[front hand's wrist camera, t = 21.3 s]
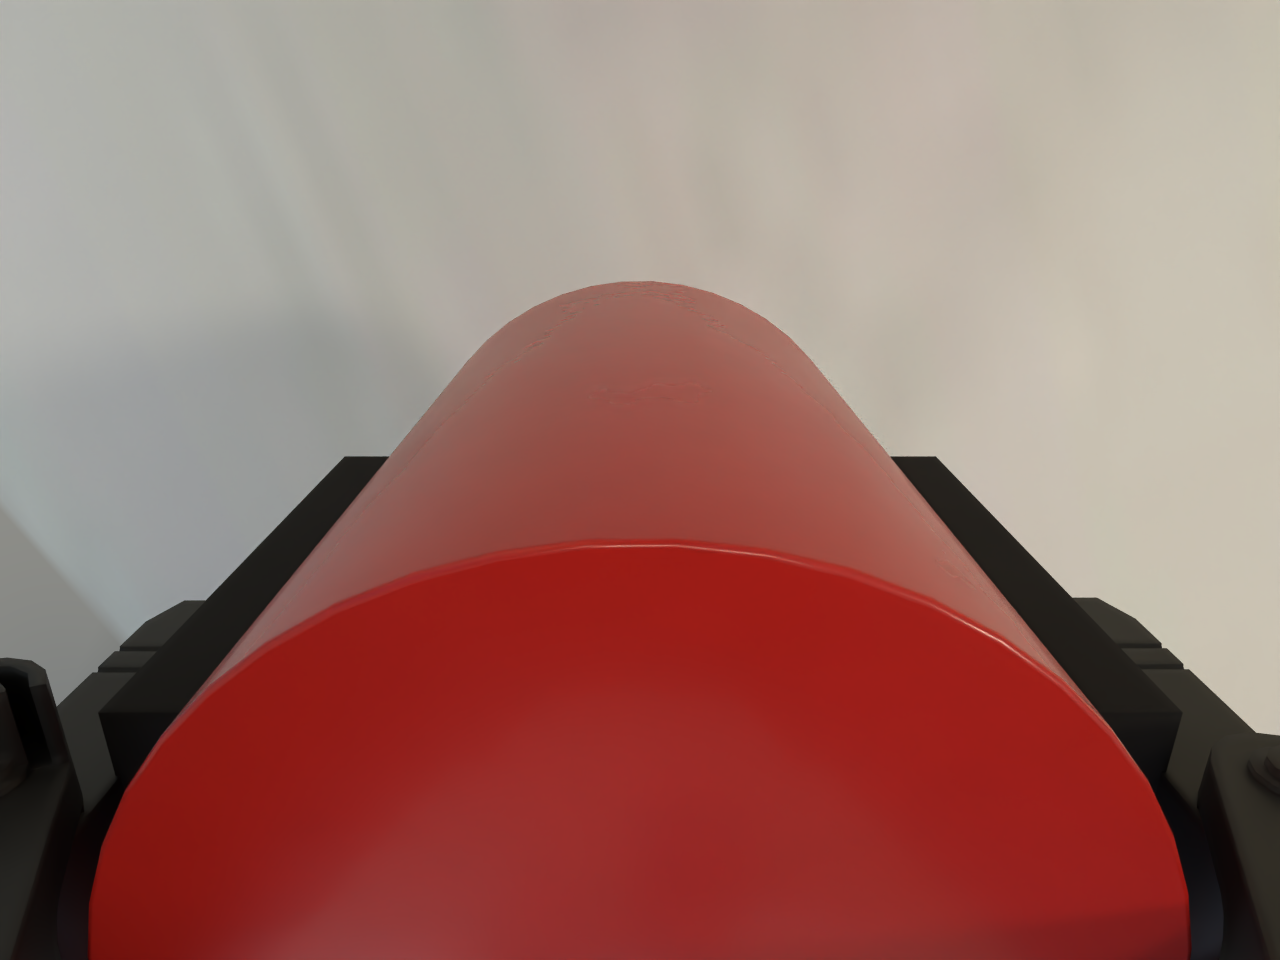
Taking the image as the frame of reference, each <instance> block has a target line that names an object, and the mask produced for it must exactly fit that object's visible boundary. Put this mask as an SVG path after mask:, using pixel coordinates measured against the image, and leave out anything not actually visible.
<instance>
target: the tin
mask: <svg viewBox="0 0 1280 960" xmlns="http://www.w3.org/2000/svg"><path fill="white" fill-rule="evenodd" d="M1191 950H1192V944H1191V928H1190V911H1189V895H1188V889H1187V885H1186V881H1185V877H1184V873H1183V870H1182V866H1181V862H1180V858H1179V854H1178V850H1177V846H1176V842H1175V838H1174V834H1173V832H1172V830H1171V828H1170V826H1169V824H1168V821H1167V819H1166V817H1165V815H1164V813H1163V811H1162V809H1161V806H1160V804H1159V802H1158V800H1157V798H1156V796H1155V794H1154V791H1153V789H1152V787H1151V785H1150V783H1149V781H1148V779H1147V778H1146V776H1145V775H1144V773H1143V772H1142V771H1141V769H1140V768H1139V766H1138V765H1137V764H1136V762H1135V761H1134V759H1133V758H1132V756H1131V755H1130V754H1129V752H1128V751H1127V749H1126V748H1125V747H1124V745H1123V744H1122V742H1121V741H1120V740H1119V738H1118V737H1117V735H1116V734H1115V732H1114V731H1113V730H1112V728H1111V727H1110V726H1109V724H1108V723H1107V722H1106V721H1105V720H1104V718H1103V717H1102V716H1101V715H1100V713H1099V712H1098V711H1097V710H1096V709H1095V707H1094V706H1093V705H1092V704H1091V702H1090V701H1089V700H1088V699H1087V697H1086V696H1085V695H1084V694H1083V693H1082V691H1081V690H1080V689H1079V688H1078V686H1077V685H1076V684H1075V683H1074V682H1073V680H1072V679H1071V678H1070V677H1069V675H1068V674H1067V673H1066V672H1065V671H1064V669H1063V668H1062V667H1061V666H1060V664H1059V663H1058V662H1057V661H1056V660H1055V658H1054V657H1053V656H1052V655H1051V653H1050V652H1049V651H1048V650H1047V648H1046V647H1045V646H1044V645H1043V644H1042V642H1041V641H1040V640H1039V639H1038V637H1037V636H1036V635H1035V634H1034V633H1033V631H1032V630H1031V629H1030V628H1029V626H1028V625H1027V624H1026V623H1025V622H1024V620H1023V619H1022V618H1021V617H1020V615H1019V614H1018V613H1017V612H1016V611H1015V609H1014V608H1013V607H1012V606H1011V604H1010V603H1009V602H1008V601H1007V599H1006V598H1005V597H1004V596H1003V595H1002V593H1001V592H1000V591H999V590H998V588H997V587H996V586H995V585H994V584H993V582H992V581H991V580H990V579H989V577H988V576H987V575H986V574H985V573H984V571H983V570H982V569H981V568H980V566H979V565H978V564H977V563H976V562H975V560H974V559H973V558H972V557H971V555H970V554H969V553H968V552H967V550H966V549H965V548H964V547H963V546H962V544H961V543H960V542H959V541H958V539H957V538H956V537H955V536H954V535H953V533H952V532H951V531H950V530H949V528H948V527H947V526H946V525H945V524H944V522H943V521H942V520H941V519H940V517H939V516H938V515H937V514H936V513H935V511H934V510H933V509H932V508H931V506H930V505H929V504H928V503H927V501H926V500H925V499H924V498H923V497H922V495H921V494H920V493H919V492H918V490H917V489H916V488H915V487H914V486H913V484H912V483H911V482H910V481H909V479H908V478H907V477H906V476H905V475H904V473H903V472H902V471H901V470H900V468H899V467H898V466H897V465H896V464H895V462H894V461H893V460H892V459H891V457H890V456H889V455H888V454H887V452H886V451H885V450H884V449H883V448H882V446H881V445H880V444H879V443H878V441H877V440H876V439H875V438H874V437H873V435H872V434H871V433H870V432H869V430H868V429H867V428H866V427H865V426H864V424H863V423H862V422H861V421H860V419H859V418H858V417H857V416H856V415H855V413H854V412H853V411H852V410H851V408H850V407H849V406H848V405H847V403H846V402H845V401H844V400H843V399H842V397H841V396H840V395H839V394H838V392H837V391H836V390H835V389H834V388H833V386H832V385H831V384H830V383H829V381H828V380H827V379H826V378H825V377H824V375H823V374H822V373H821V372H820V370H819V369H818V368H817V367H816V366H815V364H814V363H813V362H812V361H811V359H810V358H809V357H808V356H807V355H806V354H805V353H804V352H803V351H802V350H801V349H800V348H799V347H798V346H797V345H796V344H795V343H794V342H793V341H792V339H791V338H790V337H788V336H787V335H786V334H785V333H783V332H782V331H781V330H779V329H778V328H777V327H776V326H774V325H773V324H772V323H770V322H769V321H768V320H767V319H765V318H763V317H762V316H760V315H758V314H756V313H755V312H753V311H751V310H749V309H748V308H746V307H744V306H743V305H741V304H739V303H736V302H734V301H731V300H729V299H726V298H724V297H722V296H719V295H717V294H714V293H711V292H708V291H704V290H700V289H696V288H692V287H688V286H685V285H678V284H670V283H662V282H654V281H642V282H616V283H610V284H603V285H596V286H590V287H587V288H583V289H580V290H576V291H573V292H569V293H566V294H562V295H560V296H558V297H555V298H553V299H551V300H548V301H546V302H544V303H542V304H539V305H537V306H535V307H533V308H531V309H530V310H528V311H527V312H525V313H523V314H522V315H520V316H518V317H517V318H515V319H513V320H512V321H510V322H509V323H508V324H506V325H505V326H504V327H503V328H501V329H500V330H499V331H498V332H497V333H495V334H494V335H493V336H492V337H490V338H489V339H488V340H487V341H486V342H485V343H484V344H483V345H482V346H481V347H480V348H479V349H478V351H477V352H476V353H475V354H474V355H473V356H472V357H471V358H470V359H469V360H468V361H467V363H466V364H465V365H464V366H463V367H462V369H461V370H460V371H459V372H458V374H457V375H456V376H455V377H454V378H453V380H452V381H451V382H450V383H449V385H448V386H447V387H446V388H445V389H444V391H443V392H442V393H441V394H440V396H439V397H438V398H437V399H436V400H435V402H434V403H433V404H432V405H431V407H430V408H429V409H428V410H427V411H426V413H425V414H424V415H423V416H422V418H421V419H420V420H419V421H418V422H417V424H416V425H415V426H414V427H413V429H412V430H411V431H410V432H409V433H408V435H407V436H406V437H405V438H404V440H403V441H402V442H401V443H400V444H399V446H398V447H397V448H396V449H395V451H394V452H393V453H392V454H391V455H390V457H389V458H388V459H387V460H386V462H385V463H384V464H383V465H382V466H381V468H380V469H379V470H378V471H377V472H376V474H375V475H374V476H373V477H372V479H371V480H370V481H369V482H368V483H367V485H366V486H365V487H364V488H363V490H362V491H361V492H360V493H359V494H358V496H357V497H356V498H355V499H354V501H353V502H352V503H351V504H350V505H349V507H348V508H347V509H346V510H345V512H344V513H343V514H342V515H341V516H340V518H339V519H338V520H337V521H336V523H335V524H334V525H333V526H332V527H331V529H330V530H329V531H328V532H327V534H326V535H325V536H324V537H323V538H322V540H321V541H320V542H319V543H318V545H317V546H316V547H315V548H314V549H313V551H312V552H311V553H310V554H309V556H308V557H307V558H306V559H305V560H304V562H303V563H302V564H301V565H300V567H299V568H298V569H297V570H296V571H295V573H294V574H293V575H292V576H291V577H290V579H289V580H288V581H287V582H286V584H285V585H284V586H283V587H282V588H281V590H280V591H279V592H278V593H277V595H276V596H275V597H274V598H273V599H272V601H271V602H270V603H269V604H268V606H267V607H266V608H265V609H264V610H263V612H262V613H261V614H260V615H259V617H258V618H257V619H256V620H255V621H254V623H253V624H252V625H251V626H250V628H249V629H248V630H247V631H246V632H245V634H244V635H243V636H242V637H241V639H240V640H239V641H238V642H237V643H236V645H235V646H234V647H233V648H232V650H231V651H230V652H229V653H228V654H227V656H226V657H225V658H224V659H223V661H222V662H221V663H220V664H219V665H218V667H217V668H216V669H215V670H214V671H213V673H212V674H211V675H210V676H209V678H208V679H207V680H206V681H205V682H204V684H203V685H202V686H201V687H200V689H199V690H198V691H197V692H196V693H195V695H194V696H193V697H192V698H191V700H190V701H189V702H188V703H187V704H186V706H185V707H184V708H183V709H182V711H181V712H180V713H179V714H178V715H177V717H176V718H175V719H174V720H173V722H172V723H171V724H170V725H169V726H168V728H167V729H166V730H165V731H164V733H163V734H162V735H161V736H160V738H159V739H158V741H157V742H156V744H155V745H154V747H153V748H152V750H151V751H150V753H149V754H148V756H147V757H146V759H145V760H144V762H143V763H142V765H141V766H140V768H139V769H138V771H137V772H136V774H135V775H134V777H133V778H132V780H131V781H130V783H129V784H128V786H127V788H126V789H125V791H124V794H123V796H122V798H121V801H120V803H119V805H118V808H117V810H116V812H115V815H114V817H113V819H112V822H111V824H110V826H109V829H108V831H107V833H106V836H105V838H104V840H103V843H102V846H101V851H100V855H99V860H98V864H97V869H96V873H95V878H94V882H93V887H92V892H91V896H90V901H89V923H88V960H1190V958H1191Z"/></svg>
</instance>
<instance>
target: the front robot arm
mask: <svg viewBox="0 0 1280 960" xmlns="http://www.w3.org/2000/svg"><path fill="white" fill-rule="evenodd" d="M388 458H389V457H344V458H343V459H342V460H341V461H340V462H339V463H338V464H337V465H336V466H335V467H334V468H333V469H332V470H331V471H330V472H329V473H328V475H327V476H326V477H325V478H324V479H323V480H322V481H321V482H320V483H319V484H318V485H317V486H316V487H315V488H314V489H313V490H312V491H311V492H310V493H309V494H308V495H307V496H306V497H305V498H304V499H303V500H302V501H301V503H300V504H299V505H298V506H297V507H296V508H295V509H294V510H293V511H292V512H291V513H290V514H289V515H288V516H287V517H286V518H285V519H284V520H283V521H282V522H281V523H280V524H279V525H278V526H277V527H276V528H275V529H274V530H273V532H272V533H271V534H270V535H269V536H268V537H267V538H266V539H265V540H264V541H263V542H262V543H261V544H260V545H259V546H258V547H257V548H256V549H255V550H254V551H253V552H252V553H251V554H250V555H249V556H248V557H247V558H246V560H245V561H244V562H243V563H242V564H241V565H240V566H239V567H238V568H237V569H236V570H235V571H234V572H233V573H232V574H231V575H230V576H229V577H228V578H227V579H226V580H225V581H224V582H223V583H222V584H221V585H220V586H219V587H218V589H217V590H216V591H215V592H214V593H213V594H212V595H211V596H210V597H209V598H208V599H207V600H206V601H183V602H181V603H179V604H177V605H175V606H174V607H172V608H170V609H168V610H166V611H164V612H163V613H161V614H159V615H157V616H155V617H154V618H152V619H150V620H148V621H146V622H145V623H144V624H143V625H142V626H141V627H140V628H139V629H138V630H137V631H136V632H135V633H134V634H133V635H131V636H130V637H129V638H128V639H127V640H126V641H125V642H124V643H123V644H122V645H121V646H120V651H115V652H114V653H113V654H112V655H111V656H109V657H108V658H107V659H106V660H105V661H104V662H103V663H102V664H101V665H100V666H99V667H98V672H97V673H92V674H91V675H90V676H88V677H87V678H86V679H85V680H84V681H83V682H82V683H81V684H80V685H79V686H78V687H77V688H76V689H75V690H74V691H73V692H72V693H71V694H70V695H69V696H68V697H66V698H65V699H64V700H63V701H62V702H61V703H60V704H59V705H58V706H57V707H56V704H55V701H54V697H53V694H52V690H51V687H50V684H49V680H48V677H47V674H46V670H45V669H44V668H42V667H41V666H39V665H37V664H36V663H34V662H33V661H30V660H22V659H14V658H0V960H88V923H89V901H90V896H91V892H92V887H93V882H94V878H95V873H96V869H97V864H98V860H99V855H100V851H101V846H102V843H103V840H104V838H105V836H106V833H107V831H108V829H109V826H110V824H111V822H112V819H113V817H114V815H115V812H116V810H117V808H118V805H119V803H120V801H121V798H122V796H123V794H124V791H125V789H126V788H127V786H128V784H129V783H130V781H131V780H132V778H133V777H134V775H135V774H136V772H137V771H138V769H139V768H140V766H141V765H142V763H143V762H144V760H145V759H146V757H147V756H148V754H149V753H150V751H151V750H152V748H153V747H154V745H155V744H156V742H157V741H158V739H159V738H160V736H161V735H162V734H163V733H164V731H165V730H166V729H167V728H168V726H169V725H170V724H171V723H172V722H173V720H174V719H175V718H176V717H177V715H178V714H179V713H180V712H181V711H182V709H183V708H184V707H185V706H186V704H187V703H188V702H189V701H190V700H191V698H192V697H193V696H194V695H195V693H196V692H197V691H198V690H199V689H200V687H201V686H202V685H203V684H204V682H205V681H206V680H207V679H208V678H209V676H210V675H211V674H212V673H213V671H214V670H215V669H216V668H217V667H218V665H219V664H220V663H221V662H222V661H223V659H224V658H225V657H226V656H227V654H228V653H229V652H230V651H231V650H232V648H233V647H234V646H235V645H236V643H237V642H238V641H239V640H240V639H241V637H242V636H243V635H244V634H245V632H246V631H247V630H248V629H249V628H250V626H251V625H252V624H253V623H254V621H255V620H256V619H257V618H258V617H259V615H260V614H261V613H262V612H263V610H264V609H265V608H266V607H267V606H268V604H269V603H270V602H271V601H272V599H273V598H274V597H275V596H276V595H277V593H278V592H279V591H280V590H281V588H282V587H283V586H284V585H285V584H286V582H287V581H288V580H289V579H290V577H291V576H292V575H293V574H294V573H295V571H296V570H297V569H298V568H299V567H300V565H301V564H302V563H303V562H304V560H305V559H306V558H307V557H308V556H309V554H310V553H311V552H312V551H313V549H314V548H315V547H316V546H317V545H318V543H319V542H320V541H321V540H322V538H323V537H324V536H325V535H326V534H327V532H328V531H329V530H330V529H331V527H332V526H333V525H334V524H335V523H336V521H337V520H338V519H339V518H340V516H341V515H342V514H343V513H344V512H345V510H346V509H347V508H348V507H349V505H350V504H351V503H352V502H353V501H354V499H355V498H356V497H357V496H358V494H359V493H360V492H361V491H362V490H363V488H364V487H365V486H366V485H367V483H368V482H369V481H370V480H371V479H372V477H373V476H374V475H375V474H376V472H377V471H378V470H379V469H380V468H381V466H382V465H383V464H384V463H385V462H386V460H387V459H388ZM891 459H892V460H893V461H894V462H895V464H896V465H897V466H898V467H899V468H900V470H901V471H902V472H903V473H904V475H905V476H906V477H907V478H908V479H909V481H910V482H911V483H912V484H913V486H914V487H915V488H916V489H917V490H918V492H919V493H920V494H921V495H922V497H923V498H924V499H925V500H926V501H927V503H928V504H929V505H930V506H931V508H932V509H933V510H934V511H935V513H936V514H937V515H938V516H939V517H940V519H941V520H942V521H943V522H944V524H945V525H946V526H947V527H948V528H949V530H950V531H951V532H952V533H953V535H954V536H955V537H956V538H957V539H958V541H959V542H960V543H961V544H962V546H963V547H964V548H965V549H966V550H967V552H968V553H969V554H970V555H971V557H972V558H973V559H974V560H975V562H976V563H977V564H978V565H979V566H980V568H981V569H982V570H983V571H984V573H985V574H986V575H987V576H988V577H989V579H990V580H991V581H992V582H993V584H994V585H995V586H996V587H997V588H998V590H999V591H1000V592H1001V593H1002V595H1003V596H1004V597H1005V598H1006V599H1007V601H1008V602H1009V603H1010V604H1011V606H1012V607H1013V608H1014V609H1015V611H1016V612H1017V613H1018V614H1019V615H1020V617H1021V618H1022V619H1023V620H1024V622H1025V623H1026V624H1027V625H1028V626H1029V628H1030V629H1031V630H1032V631H1033V633H1034V634H1035V635H1036V636H1037V637H1038V639H1039V640H1040V641H1041V642H1042V644H1043V645H1044V646H1045V647H1046V648H1047V650H1048V651H1049V652H1050V653H1051V655H1052V656H1053V657H1054V658H1055V660H1056V661H1057V662H1058V663H1059V664H1060V666H1061V667H1062V668H1063V669H1064V671H1065V672H1066V673H1067V674H1068V675H1069V677H1070V678H1071V679H1072V680H1073V682H1074V683H1075V684H1076V685H1077V686H1078V688H1079V689H1080V690H1081V691H1082V693H1083V694H1084V695H1085V696H1086V697H1087V699H1088V700H1089V701H1090V702H1091V704H1092V705H1093V706H1094V707H1095V709H1096V710H1097V711H1098V712H1099V713H1100V715H1101V716H1102V717H1103V718H1104V720H1105V721H1106V722H1107V723H1108V724H1109V726H1110V727H1111V728H1112V730H1113V731H1114V732H1115V734H1116V735H1117V737H1118V738H1119V740H1120V741H1121V742H1122V744H1123V745H1124V747H1125V748H1126V749H1127V751H1128V752H1129V754H1130V755H1131V756H1132V758H1133V759H1134V761H1135V762H1136V764H1137V765H1138V766H1139V768H1140V769H1141V771H1142V772H1143V773H1144V775H1145V776H1146V778H1147V779H1148V781H1149V783H1150V785H1151V787H1152V789H1153V791H1154V794H1155V796H1156V798H1157V800H1158V802H1159V804H1160V806H1161V809H1162V811H1163V813H1164V815H1165V817H1166V819H1167V821H1168V824H1169V826H1170V828H1171V830H1172V832H1173V834H1174V838H1175V842H1176V846H1177V850H1178V854H1179V858H1180V862H1181V866H1182V870H1183V873H1184V877H1185V881H1186V885H1187V889H1188V895H1189V911H1190V928H1191V944H1192V950H1191V958H1190V960H1280V736H1278V735H1270V734H1261V733H1256V732H1255V731H1254V730H1253V729H1251V728H1250V727H1249V726H1248V725H1247V724H1246V723H1245V722H1244V721H1243V720H1242V719H1241V718H1240V717H1239V716H1238V715H1237V714H1236V713H1235V712H1234V711H1232V710H1231V709H1230V708H1229V707H1228V706H1227V705H1226V704H1225V703H1224V702H1223V701H1222V700H1221V699H1220V698H1219V697H1218V696H1217V695H1216V694H1214V693H1213V692H1212V691H1211V690H1210V689H1209V688H1208V687H1207V686H1206V685H1205V684H1204V683H1203V682H1202V681H1201V680H1200V679H1199V678H1198V677H1197V676H1195V675H1194V674H1193V673H1192V672H1191V671H1190V670H1189V669H1184V668H1183V663H1182V662H1181V661H1180V660H1179V659H1177V658H1176V657H1175V656H1174V655H1173V654H1172V653H1171V652H1170V651H1169V650H1168V649H1167V648H1162V646H1161V644H1162V643H1161V642H1159V641H1158V640H1157V639H1156V638H1155V637H1154V636H1153V635H1152V634H1151V633H1150V632H1149V631H1148V630H1147V629H1146V628H1145V627H1144V626H1143V625H1142V624H1140V623H1139V622H1138V621H1137V620H1136V619H1135V618H1133V617H1131V616H1129V615H1128V614H1126V613H1124V612H1122V611H1120V610H1118V609H1117V608H1115V607H1113V606H1111V605H1109V604H1107V603H1106V602H1104V601H1102V600H1100V599H1098V598H1072V597H1071V596H1070V595H1069V594H1068V593H1067V592H1066V591H1065V590H1064V589H1063V588H1062V587H1061V586H1060V585H1059V584H1058V583H1057V582H1056V581H1055V580H1054V579H1053V578H1052V576H1051V575H1050V574H1049V573H1048V572H1047V571H1046V570H1045V569H1044V568H1043V567H1042V566H1041V565H1040V564H1039V563H1038V562H1037V561H1036V560H1035V559H1034V558H1033V557H1032V556H1031V555H1030V554H1029V553H1028V552H1027V551H1026V550H1025V549H1024V547H1023V546H1022V545H1021V544H1020V543H1019V542H1018V541H1017V540H1016V539H1015V538H1014V537H1013V536H1012V535H1011V534H1010V533H1009V532H1008V531H1007V530H1006V529H1005V528H1004V527H1003V526H1002V525H1001V524H1000V523H999V522H998V521H997V519H996V518H995V517H994V516H993V515H992V514H991V513H990V512H989V511H988V510H987V509H986V508H985V507H984V506H983V505H982V504H981V503H980V502H979V501H978V500H977V499H976V498H975V497H974V496H973V495H972V494H971V493H970V492H969V490H968V489H967V488H966V487H965V486H964V485H963V484H962V483H961V482H960V481H959V480H958V479H957V478H956V477H955V476H954V475H953V474H952V473H951V472H950V471H949V470H948V469H947V468H946V467H945V466H944V465H943V464H942V463H941V461H940V460H939V459H938V458H937V457H891Z"/></svg>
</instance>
